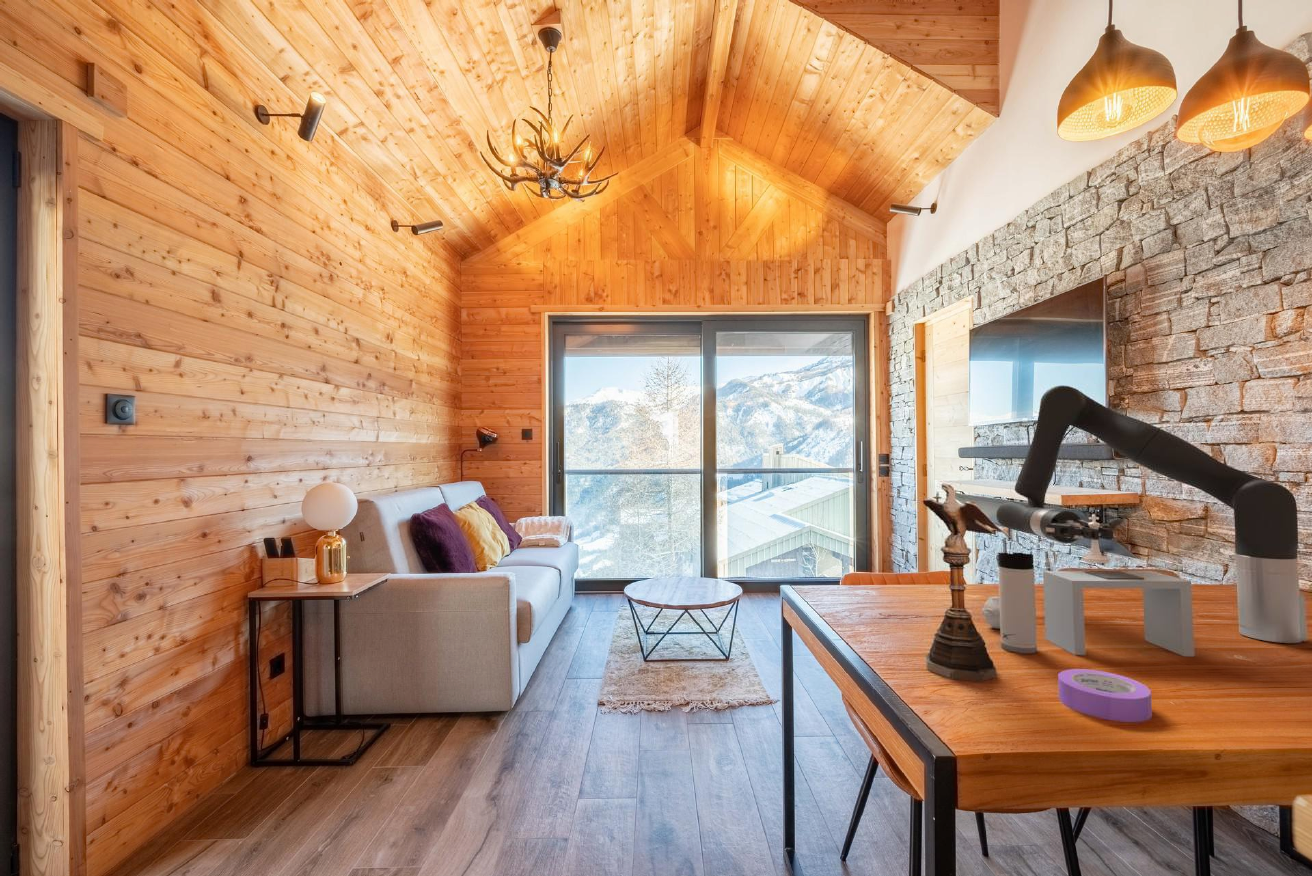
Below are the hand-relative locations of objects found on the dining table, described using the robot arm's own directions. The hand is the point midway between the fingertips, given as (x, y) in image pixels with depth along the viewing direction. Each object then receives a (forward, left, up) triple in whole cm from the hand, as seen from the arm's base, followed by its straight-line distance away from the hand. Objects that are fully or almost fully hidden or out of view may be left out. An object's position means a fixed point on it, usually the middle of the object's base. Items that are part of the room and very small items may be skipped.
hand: (1103, 534), depth 123 cm
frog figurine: (+17, -11, -23) cm, 30 cm away
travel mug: (+20, +4, -23) cm, 31 cm away
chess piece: (0, -3, -6) cm, 7 cm away
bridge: (0, +2, -23) cm, 23 cm away
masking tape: (+21, +31, -23) cm, 44 cm away
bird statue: (+35, +14, -23) cm, 44 cm away
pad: (0, +2, -8) cm, 8 cm away
